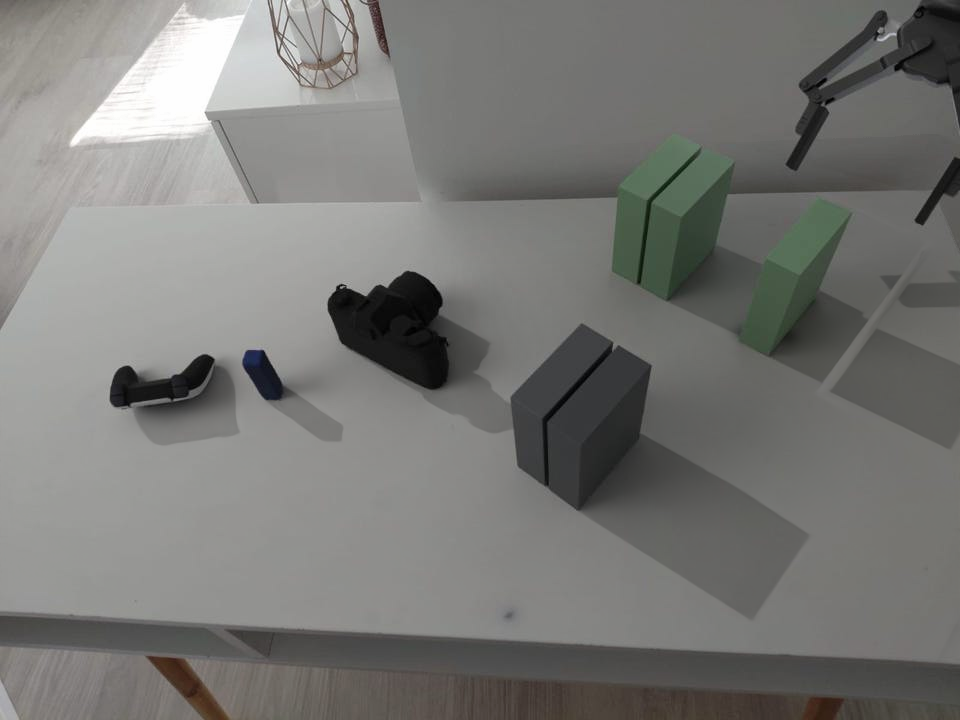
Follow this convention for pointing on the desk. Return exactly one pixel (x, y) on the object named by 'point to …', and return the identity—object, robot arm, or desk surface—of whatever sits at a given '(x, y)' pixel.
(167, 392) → the gaming controller
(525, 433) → the grey book
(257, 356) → the blue rectangular bar
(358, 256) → the desk surface
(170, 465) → the desk surface
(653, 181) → the green book
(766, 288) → the sage book
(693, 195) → the green book
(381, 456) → the desk surface
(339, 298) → the film camera
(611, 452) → the grey book
